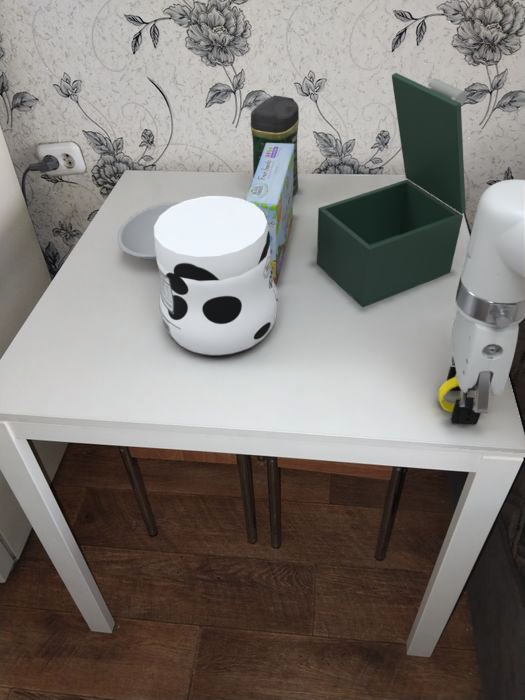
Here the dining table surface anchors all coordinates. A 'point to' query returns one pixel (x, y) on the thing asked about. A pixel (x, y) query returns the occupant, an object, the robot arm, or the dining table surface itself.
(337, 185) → the dining table surface
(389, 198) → the bin
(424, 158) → the bin lid
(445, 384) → the watch
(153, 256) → the dish
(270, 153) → the snack box
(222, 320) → the doce de leite jar
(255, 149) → the coffee jar
